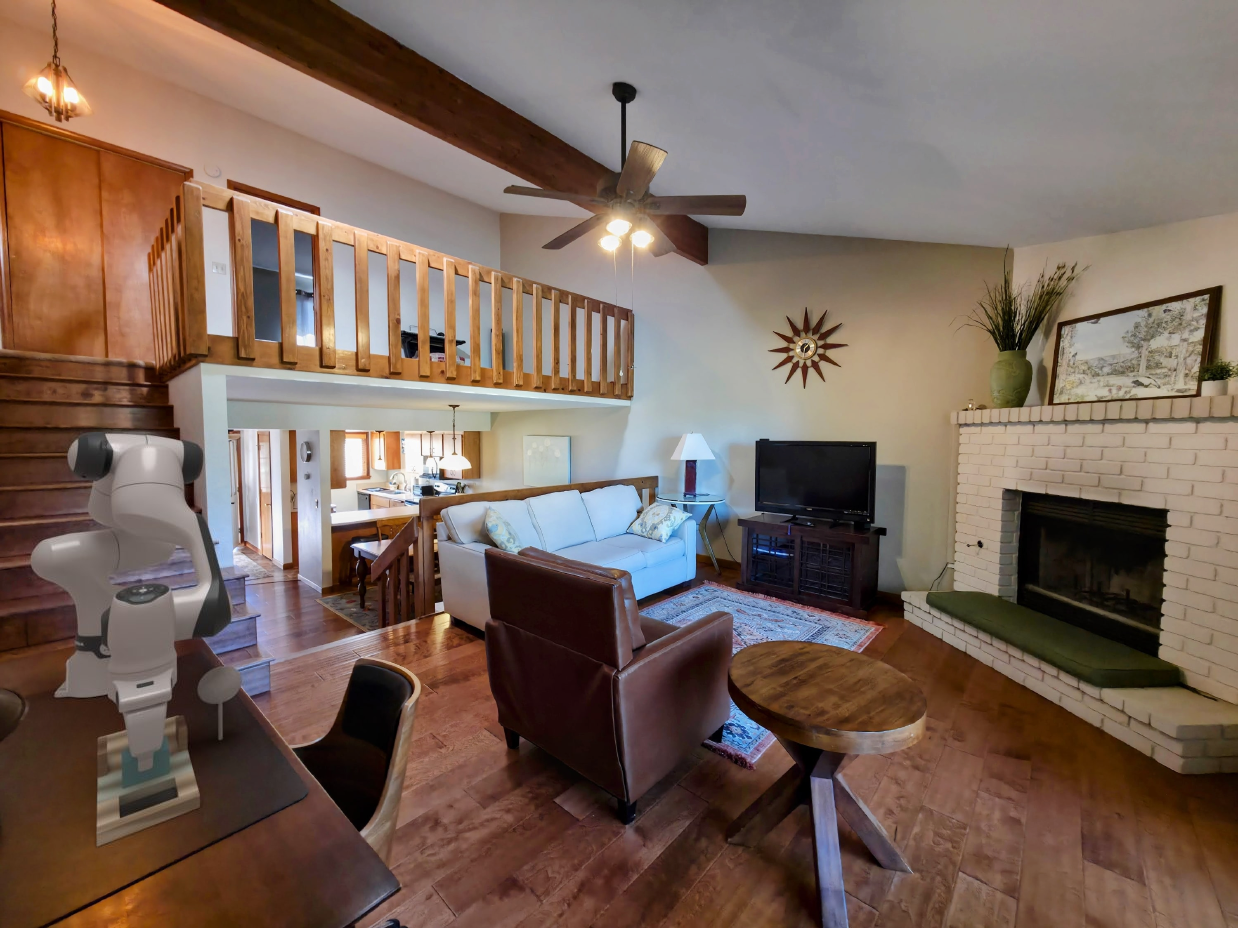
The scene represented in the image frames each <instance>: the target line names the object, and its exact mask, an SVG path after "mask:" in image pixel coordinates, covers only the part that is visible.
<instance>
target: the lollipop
mask: <svg viewBox="0 0 1238 928" xmlns="http://www.w3.org/2000/svg"><path fill="white" fill-rule="evenodd" d="M242 682H243V678H242V675H241V673H240V671H238V669H237V668H235V667H233V666H227V665H222V666H218V667H214V668H212V669H211V670H209V671H207V672H206V673H205V674H204V675H203V676H202V677H201V678H200V680H199V682H198V685H197V694H198V697H199V698H200V700H202V701H203V702H205V703H207V704H211V705H216V704H217V718H218V719H217V722H218V723H217V727H218V730H217V731H218V733H217V734H218V735H217V739H218V741H221V740H223V738H224V737H223V735H224V734H223V703H225V702H228V701H229V700H230V699H232V698H233V697H234V696H236V695H237V694H238V692H239V690H240V688H241V687H242Z"/></svg>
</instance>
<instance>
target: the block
mask: <svg viewBox="0 0 1238 928" xmlns="http://www.w3.org/2000/svg"><path fill="white" fill-rule="evenodd" d="M169 773H170V748H169V743H168V739H167V737H165V738H163V742H162V745H161V748H160V749H159V750H157V751H154V754H153V766H152V768H150V769H148V770H145V771H142V772H140V771H138V758H137V757H132V755H131V753H130V749H129V748H128V749H125V750H122V788H123V789H124V788H127V787H130V786H133V785H136V784H139V783H142V782H145V781H148V780H151V779H154V778H157V777H160V776H163V775H166V774H169Z"/></svg>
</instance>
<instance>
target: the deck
mask: <svg viewBox="0 0 1238 928" xmlns="http://www.w3.org/2000/svg"><path fill="white" fill-rule="evenodd" d="M165 737H167V739H168V743H169V748H170V773H169V774H166V775H163V776H160V777H157V778H154V779H151V780H148V781H145V782H142V783H139V784H136V785H133V786H130V787H127V788H124V789H123V788H122V750H125V749H128V748H129V743H128V737H127V731H126V729H124V730H121V731H117V732H113V733H111V734H107V735H103V736H99V737H98V738H97V755H96V758H97V762H96V763H97V787H96V789H97V794H96V795H97V796H96V798H97V799H96V848H98V847H100V846H103V845H106V844H108V843H111V842H113V841H116V840H119V839H122V838H124V837H126V836H129V835H132V834H135V833H137V832H140V831H142V830H145V829H147V828H150V827H152V826H155V825H157V824H158V825H159V824H160V823H163V822H165V821H168V820H171V819H173V818H176V817H178V816H181V815H184V814H187V813H189V812H191V811H193V810H197V809H200V808H201V794H200V791H199V790H200V789H199V786H198V783H197V780H196V776H195V772H194V768H193V765H192V761H191V757H190V754H189V750H188V726H187V723H186V719H185V716H184V715H183V714H182V715H175V716H172V717H168V718H167V717H166V720H165V728H164V736H163V738H165Z"/></svg>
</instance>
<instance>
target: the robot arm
mask: <svg viewBox="0 0 1238 928" xmlns="http://www.w3.org/2000/svg"><path fill="white" fill-rule="evenodd" d="M67 462H68V466H69V468H70V470H71V472H72V474H74V475H75V476H76V477H77V478H79V479H82V480H85V481H86V480H87V481H90V482H91V481H92V482H93V483H92V485H91V486H92V487H91V491H90V495H89V499H88V503H87V504H88V505H87V512H88V514H89V516H90V517H91V519H93V521H95V522H97V523H99V524H101V525H103V526H105V527H109V528H108V529H107V528H106V529H100V530H92V531H82V532H80V531H79V532H72V533H67V534H66V533H65V534H63V535H59V536H58V535H57V536H54V537H50V538H46V539H44V540H42V541H40V542H39V543H38V544H37V545H36V546H35V547H34V549H33V551H32V552H31V555H30V566H31V568H32V571H33V572H34V573H35V574H36V575H37V576H38V577H39V578H42V579H43V580H46V581H48V582H51V583H54V584H56V585H58V586H59V587H62V589H64V590H65V591H66V592H67V593H68V594H69V595H70V596H71V598H72V600H73V603H74V604H75V610H76V619H77V633H76V634H75V639H74V645H75V650H76V651H75V652H74V654H72V655H71V656H70V657H69V658H68V659H67V661H66V662H65V668H66V672H65V673H66V674H65V681H64V682H63V683H62V684H61V685H60V687H58V688H57V690H56V691H55V692H54V698H68V697H69V698H93V697H99V696H100V697H101V696H105V695H107V697H108V698H109V700H112V701H113V702H114V703H115V704H116V707H117V710H118V713H120V714H121V713H122V715H123V721H124V724H125V730H126V731H127V737H128V743H129V749H130V753H131V755H132V757H137V758H138V771H140V772H142V771H145V770H148V769H150V768H152V766H153V754H154V751H157V750H159V749H160V748H161V745H162V742H163V736H164V728H165V720H166V719H167V709H168V702H169V701H171V700H172V698H173V697H172V696H173V688H174V687H175V684H176V683H177V682H178V677H177V676H178V667H177V666H178V664H177V663H178V662H177V659H178V657H177V656H178V653H177V652H176V649H175V642H178V641H184V640H190V639H192V640H194V639H195V640H196V639H203V638H204V639H205V638H214V637H215V636H216V635H218V634H219V633H221V632H222V631H224V630H225V628H227V626H229V625H230V624H231V622H232V618H233V614H234V605H233V601H232V598H231V596H230V592H229V591H228V590H227V587H226V584H225V581H224V578H223V574H222V571H221V567H220V563H219V559H218V556H217V552H216V548H215V545H214V541H213V538H212V535H211V531H210V528H209V526H208V523H207V521H206V519H205V517H204V515H202V514H200V513H198V512H195V511H194V510H192V509H191V508H190V507H189V505H188V504H187V501H186V499H185V498H186V497H185V485H187V484H188V485H189V484H192V483H193V482H195V481H197V480H198V479H199V478H200V476H201V474H202V472H203V471H204V468H205V465H206V463H205V462H206V461H205V455H204V451H203V448H202V447H201V446H200V445H199V444H198V443H196V442H192V441H190V440H186V439H180V440H178V439H174V438H169V437H163V436H157V435H149V434H142V435H141V434H132V433H131V434H128V433H127V434H126V433H105V432H104V431H95V432H94V431H93V432H92V431H91V432H84V433H82V434H80V435H79V436H77V437H76V438H75V440H74V442H72V444H71V445H70V447H69V449H68V451H67ZM177 546H178V547H181V548H182V549H184V550H186V551H187V552H188V553H189V555H190V558H191V563H192V566H193V569H194V573H195V574H194V575H195V578H196V581H197V585H196V586H194V587H191V588H186V589H177V590H172V589H171V587H170V586H169V585H166V584H163V583H154V582H153V583H142V584H136V585H132V586H128V587H127V586H123V585H119V584H118V585H117V584H113V583H112V582H111V581H110V575H111V574H115V573H116V574H117V573H122V572H129V571H136V570H142V569H147V568H150V567H154V566H156V565H159V564H163V563H166V562H168V561H169V560H171V558H172V557H173V555H174V553H175V551H176V548H177Z"/></svg>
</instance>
